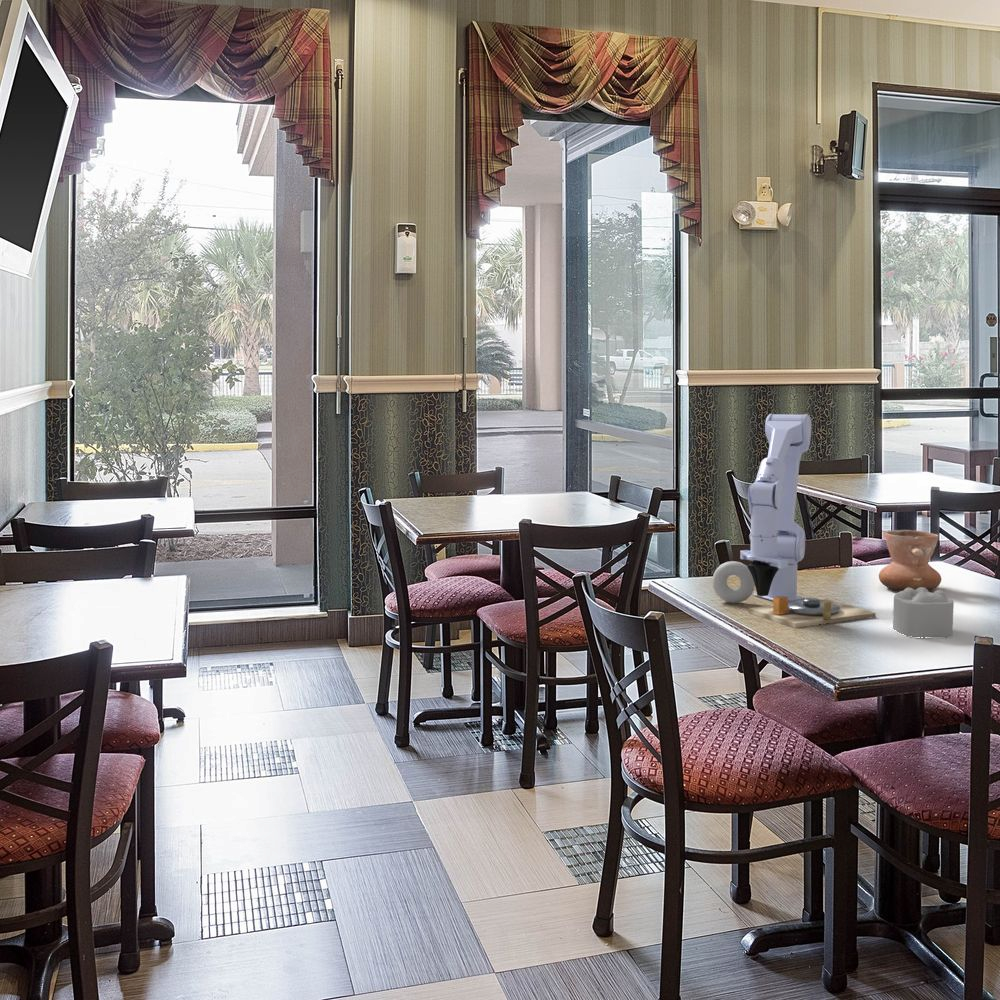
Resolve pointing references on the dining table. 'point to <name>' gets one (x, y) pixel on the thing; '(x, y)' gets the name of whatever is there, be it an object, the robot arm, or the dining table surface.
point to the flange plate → (801, 606)
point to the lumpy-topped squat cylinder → (923, 613)
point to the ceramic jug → (910, 561)
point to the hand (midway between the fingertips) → (762, 595)
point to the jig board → (808, 620)
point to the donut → (724, 590)
